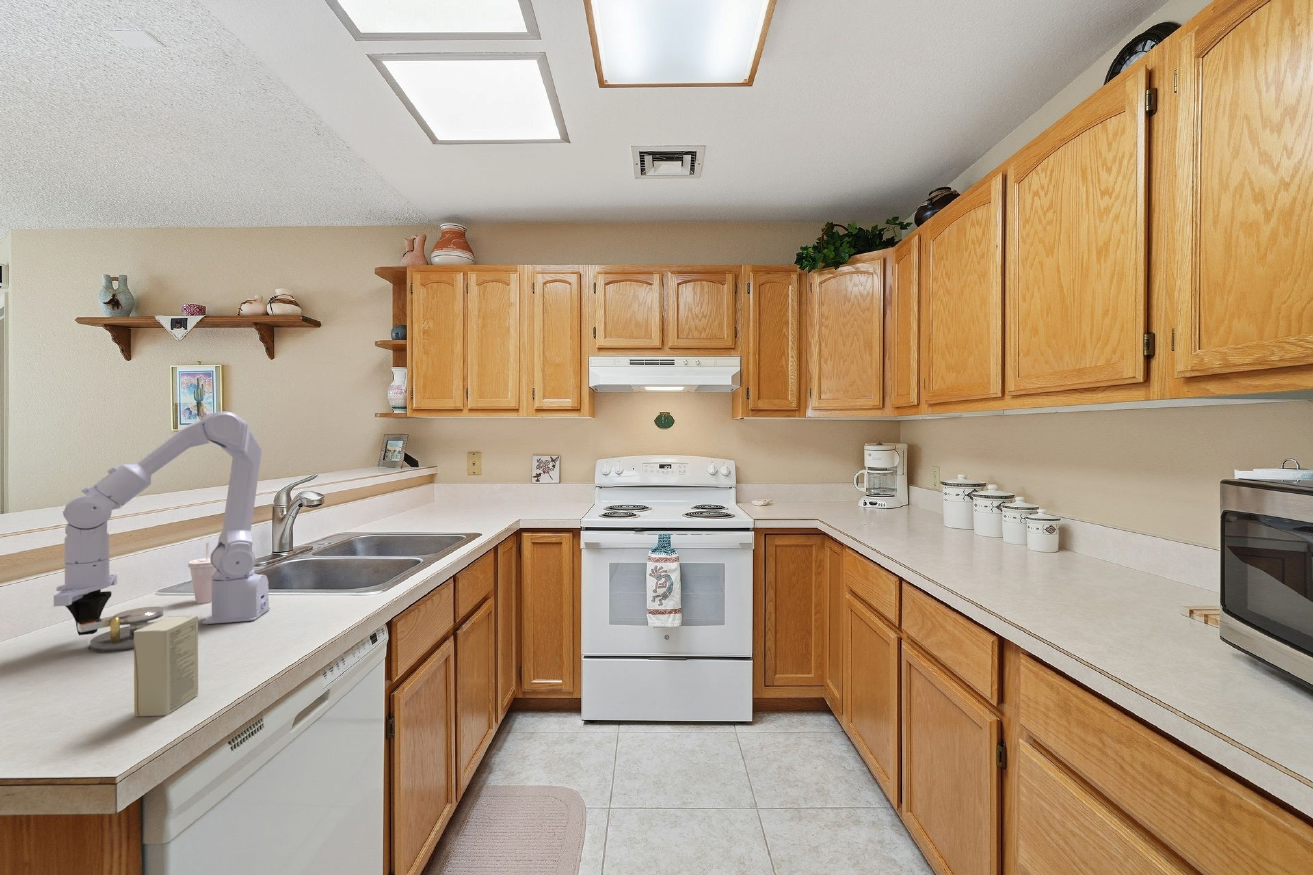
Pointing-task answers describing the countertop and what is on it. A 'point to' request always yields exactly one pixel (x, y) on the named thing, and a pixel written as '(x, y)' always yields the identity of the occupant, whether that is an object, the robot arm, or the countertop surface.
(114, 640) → the base
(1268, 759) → the countertop surface
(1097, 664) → the countertop surface
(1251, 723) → the countertop surface
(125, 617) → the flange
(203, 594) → the smoothie
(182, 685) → the skincare box
